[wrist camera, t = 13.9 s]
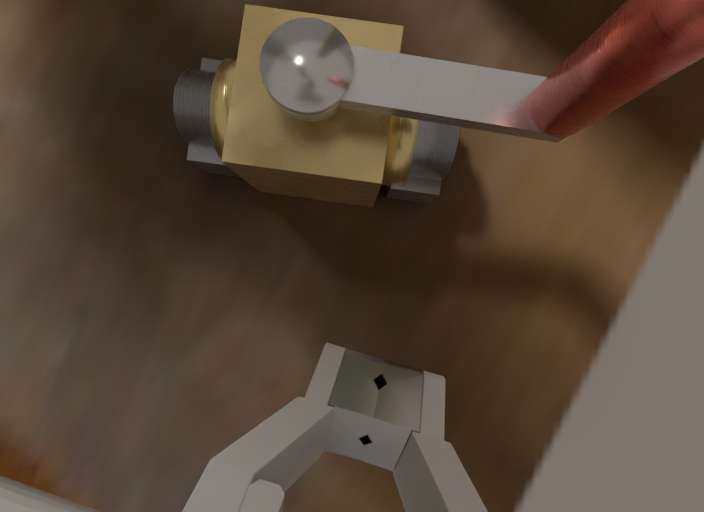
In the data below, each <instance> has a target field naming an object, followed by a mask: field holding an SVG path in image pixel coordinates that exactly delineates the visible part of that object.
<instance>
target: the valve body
mask: <svg viewBox="0 0 704 512" xmlns="http://www.w3.org/2000/svg"><path fill="white" fill-rule="evenodd" d="M304 17H310V18H317V19H321V20H323V21H326V22H328V23H330V24H332V25H333V26H334V27H336V28H337V29H338V30H339V31H340V32H341V33H342V34H343V35H344V36H345V38H346V39H347V41H348V43H349V45H351V46H358V47H364V48H370V49H376V50H382V51H389V52H395V53H400V48H401V41H402V34H403V27H404V26H400V25H392V24H385V23H378V22H371V21H363V20H356V19H349V18H342V17H335V16H327V15H320V14H313V13H306V12H298V11H291V10H284V9H277V8H270V7H262V6H255V5H248V4H245V8H244V15H243V22H242V28H241V35H240V41H239V48H238V55H237V60H236V59H225V60H216V59H208V58H202V62H201V68H200V70H198V69H191V68H186V69H184V70H183V71H182V72H181V73H180V74H179V76H178V78H177V81H176V84H175V88H174V95H173V113H174V119H175V124H176V128H177V131H178V133H179V135H180V137H181V139H182V140H183V141H184V142H185V143H186V144H188V145H189V147H188V153H187V160H188V161H189V162H191V163H192V164H194V165H195V166H197V167H198V168H200V169H202V170H203V171H205V172H206V173H211V174H218V175H225V176H232V177H239V178H243V179H244V180H245V181H246V182H248V183H249V184H250V185H251V186H253V187H254V188H255V189H256V190H258V191H259V192H264V193H271V194H279V195H286V196H293V197H300V198H307V199H314V200H322V201H329V202H336V203H343V204H350V205H357V206H365V207H372V208H373V206H374V203H375V201H376V198H377V195H378V193H379V190H380V187H381V185H386V186H387V193H386V198H390V199H397V200H404V201H412V202H419V203H426V204H429V203H430V202H431V201H433V200H434V199H435V198H436V197H438V196H439V195H440V187H441V180H445V179H446V177H447V176H448V174H449V172H450V169H451V167H452V164H453V161H454V158H455V154H456V150H457V146H458V141H459V135H460V127H458V126H452V125H446V124H440V123H433V122H427V121H421V120H415V119H409V118H402V117H396V116H390V115H384V114H378V113H372V112H365V111H359V110H353V109H347V108H341V109H340V110H338V111H337V112H336V113H335V114H333V115H331V116H330V117H327V118H325V119H322V120H318V121H301V120H297V119H294V118H291V117H290V116H288V115H286V114H285V113H283V112H282V111H281V110H280V109H278V108H277V106H276V105H275V104H274V103H273V101H272V99H271V98H270V96H269V93H268V91H267V89H266V87H265V85H264V83H263V81H262V78H261V74H260V68H259V60H260V54H261V50H262V47H263V45H264V43H265V41H266V39H267V38H268V36H269V35H270V34H271V33H272V32H273V31H274V30H275V29H276V28H277V27H278V26H280V25H282V24H283V23H285V22H287V21H289V20H293V19H296V18H304Z"/></svg>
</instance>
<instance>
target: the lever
mask: <svg viewBox="0 0 704 512" xmlns="http://www.w3.org/2000/svg"><path fill="white" fill-rule="evenodd" d="M703 57H704V0H627V1H626V2H625V3H624V4H623V5H622V6H621V7H620V8H619V9H618V10H617V11H616V12H615V13H614V14H613V15H611V16H610V17H609V18H608V19H607V20H606V21H605V22H604V23H603V24H602V25H601V26H600V27H599V28H598V29H597V30H596V31H595V32H594V33H593V34H592V35H591V36H590V37H589V38H588V39H587V40H586V41H584V42H583V43H582V44H581V45H580V46H579V47H578V48H577V49H576V50H575V51H574V52H573V53H572V54H571V55H570V56H569V57H568V58H567V59H566V60H565V61H564V62H563V63H562V64H561V65H560V66H559V67H557V68H556V69H555V70H554V71H553V72H552V73H551V74H550V75H549V76H548V77H543V76H537V75H531V74H525V73H519V72H512V71H506V70H500V69H494V68H488V67H481V66H475V65H469V64H463V63H457V62H451V61H444V60H438V59H432V58H426V57H420V56H413V55H407V54H401V53H395V52H389V51H382V50H376V49H370V48H364V47H358V46H351V45H349V43H348V41H347V39H346V38H345V36H344V35H343V34H342V33H341V32H340V31H339V30H338V29H337V28H336V27H334V26H333V25H332V24H330V23H328V22H326V21H323V20H321V19H317V18H310V17H304V18H296V19H293V20H289V21H287V22H285V23H283V24H282V25H280V26H278V27H277V28H276V29H275V30H274V31H273V32H272V33H271V34H270V35H269V36H268V38H267V39H266V41H265V43H264V45H263V47H262V50H261V54H260V60H259V68H260V74H261V78H262V81H263V83H264V85H265V87H266V89H267V91H268V93H269V96H270V98H271V99H272V101H273V103H274V104H275V105H276V106H277V108H278V109H280V110H281V111H282V112H283V113H285V114H286V115H288V116H290V117H291V118H294V119H297V120H301V121H318V120H322V119H325V118H327V117H330V116H331V115H333V114H335V113H336V112H337V111H338V110H340V109H341V108H347V109H353V110H359V111H365V112H372V113H378V114H384V115H390V116H396V117H402V118H409V119H415V120H421V121H427V122H433V123H440V124H446V125H452V126H458V127H464V128H470V129H477V130H483V131H489V132H495V133H501V134H507V135H514V136H520V137H526V138H532V139H538V140H544V141H551V142H559V141H561V140H562V139H564V138H566V137H567V136H570V135H573V134H575V133H577V132H578V131H580V130H582V129H583V128H585V127H587V126H588V125H590V124H592V123H594V122H595V121H597V120H599V119H600V118H602V117H604V116H605V115H607V114H609V113H610V112H612V111H614V110H615V109H617V108H619V107H620V106H622V105H624V104H626V103H627V102H629V101H631V100H632V99H634V98H636V97H637V96H639V95H641V94H642V93H644V92H646V91H647V90H649V89H651V88H653V87H654V86H656V85H658V84H659V83H661V82H663V81H664V80H666V79H668V78H669V77H671V76H673V75H674V74H676V73H678V72H679V71H681V70H683V69H685V68H686V67H688V66H690V65H691V64H693V63H695V62H696V61H698V60H700V59H701V58H703Z"/></svg>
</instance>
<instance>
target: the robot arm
mask: <svg viewBox="0 0 704 512" xmlns="http://www.w3.org/2000/svg"><path fill="white" fill-rule="evenodd" d="M444 425H445V378H444V376H440V375H437V374H433V373H430V372H427V371H423V370H421V369H417V368H414V367H410V366H406V365H403V364H399V363H395V362H392V361H388V360H382V359H379V358H376V357H373V356H369V355H366V354H363V353H360V352H357V351H354V350H350V349H347V348H344V347H340V346H337V345H334V344H330V343H326V345H325V346H324V348H323V351H322V353H321V356H320V358H319V361H318V364H317V366H316V369H315V371H314V374H313V377H312V379H311V382H310V384H309V387H308V390H307V392H306V395H305V397H304V398H303V397H299V396H298V397H297V398H295V399H294V400H293V401H291V402H290V403H288V404H287V405H286V406H284V407H283V408H281V409H280V410H279V411H277V412H276V413H275V414H273V415H272V416H270V417H269V418H268V419H266V420H265V421H263V422H262V423H261V424H259V425H258V426H256V427H255V428H254V429H252V430H251V431H250V432H248V433H247V434H245V435H244V436H243V437H241V438H240V439H238V440H237V441H236V442H234V443H233V444H231V445H230V446H229V447H227V448H226V449H225V450H223V451H222V452H220V453H219V454H218V455H216V456H215V457H213V458H212V459H211V460H210V461H209V463H208V465H207V467H206V469H205V470H204V472H203V474H202V476H201V478H200V480H199V481H198V483H197V485H196V487H195V489H194V491H193V493H192V494H191V496H190V498H189V500H188V502H187V504H186V505H185V507H184V509H183V511H182V512H283V504H284V495H285V494H284V492H285V491H286V490H287V489H288V488H289V487H290V486H291V485H292V484H293V483H294V482H295V481H296V480H297V479H298V478H299V477H300V476H301V475H302V474H303V473H304V472H305V471H306V470H307V469H308V468H309V467H310V466H311V465H312V464H313V463H314V462H315V461H316V460H317V459H318V458H319V457H320V456H321V455H322V454H323V453H324V451H325V450H327V451H331V452H334V453H338V454H341V455H345V456H348V457H352V458H355V459H358V460H361V461H364V462H367V463H370V464H373V465H376V466H379V467H382V468H384V469H387V470H390V471H393V476H394V479H395V482H396V485H397V488H398V491H399V494H400V497H401V500H402V503H403V506H404V509H405V512H488V511H487V509H486V508H485V506H484V504H483V502H482V500H481V498H480V496H479V495H478V493H477V491H476V489H475V487H474V485H473V483H472V482H471V480H470V478H469V476H468V474H467V472H466V470H465V469H464V467H463V465H462V463H461V461H460V459H459V457H458V456H457V454H456V452H455V450H454V448H453V446H452V445H451V443H450V442H447V441H444ZM0 512H101V511H98V510H95V509H92V508H90V507H87V506H84V505H81V504H78V503H76V502H73V501H70V500H67V499H64V498H61V497H59V496H56V495H53V494H50V493H47V492H45V491H42V490H39V489H36V488H33V487H31V486H28V485H25V484H22V483H19V482H17V481H14V480H11V479H8V478H5V477H2V476H0Z"/></svg>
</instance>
